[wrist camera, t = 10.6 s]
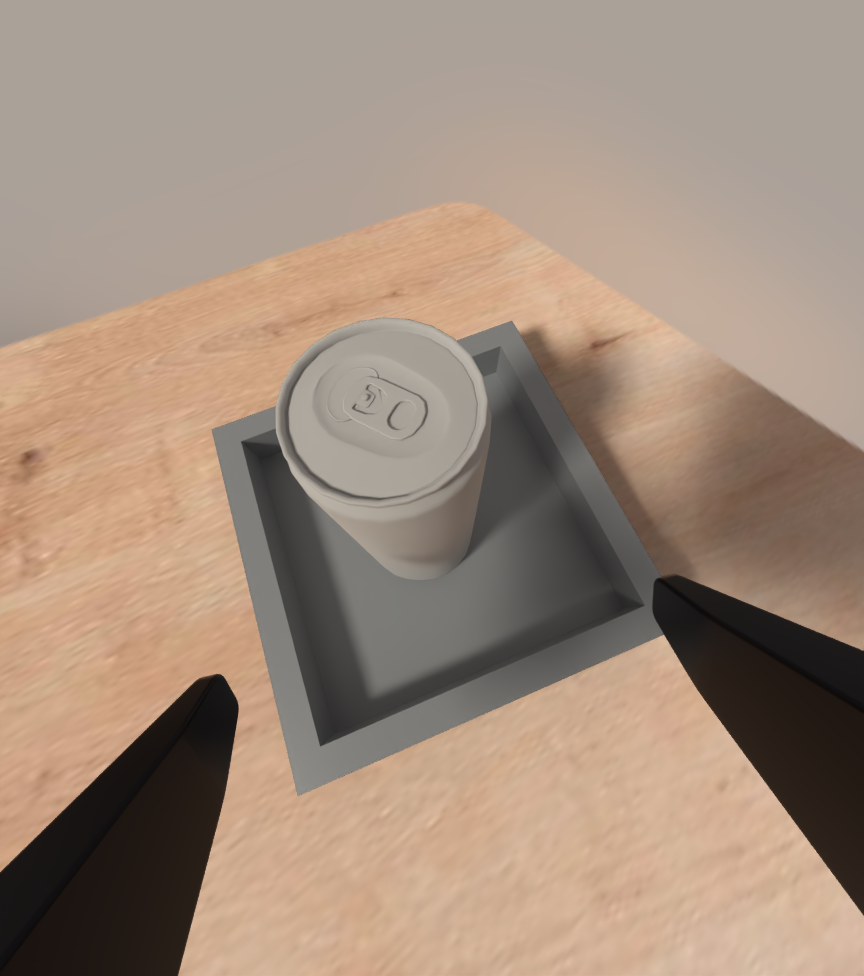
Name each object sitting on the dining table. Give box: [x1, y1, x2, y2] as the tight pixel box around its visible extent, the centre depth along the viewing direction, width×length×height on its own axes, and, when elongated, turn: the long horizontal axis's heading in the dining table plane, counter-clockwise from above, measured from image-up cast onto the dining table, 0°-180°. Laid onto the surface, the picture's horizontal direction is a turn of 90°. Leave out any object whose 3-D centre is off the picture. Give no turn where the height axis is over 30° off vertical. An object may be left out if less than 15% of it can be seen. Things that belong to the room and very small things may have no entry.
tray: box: [212, 321, 664, 796], centre depth 19 cm, size 16×16×3 cm
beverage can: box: [276, 318, 492, 580], centre depth 14 cm, size 5×5×12 cm
